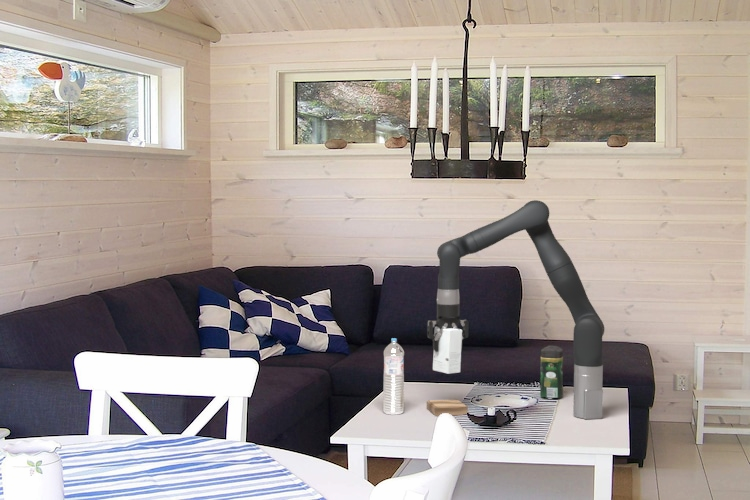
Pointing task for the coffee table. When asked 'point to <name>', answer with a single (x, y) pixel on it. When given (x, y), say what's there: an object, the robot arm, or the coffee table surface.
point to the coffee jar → (551, 372)
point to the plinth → (446, 407)
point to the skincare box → (448, 351)
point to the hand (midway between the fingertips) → (447, 351)
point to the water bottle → (393, 379)
